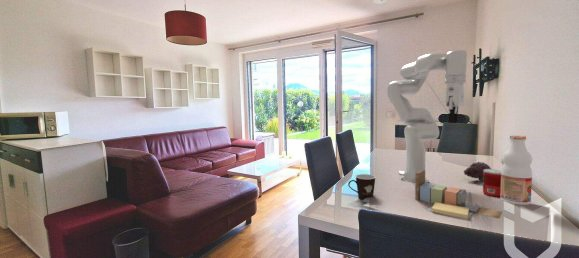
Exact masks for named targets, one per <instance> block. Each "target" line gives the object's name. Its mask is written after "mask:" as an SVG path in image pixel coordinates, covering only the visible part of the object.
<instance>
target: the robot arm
mask: <svg viewBox="0 0 579 258" xmlns="http://www.w3.org/2000/svg"><path fill="white" fill-rule="evenodd" d="M467 63H468V52H467V50H464V49H455V50H450V51H448V52H447V53H445V52H443V53H441V52H434V53H432V52H431V53H427V54H424V55H422V56H419V57H417V58H416V60H415V61H414V62H411V63H408V64H405V65H404V66H402V68H401V69H400V72H399V74H400V77H401V78H402V79H405V80H393V81H391V82H390V83H389V84H388V85H387V89H386V92H387V97H388V100H389V101H390V103H391V105H392V106H393V107H394V109H395V111H396V113H397V115H398V118H399V120H400V121H401V123H402V124H403V125H406V126H405V127H404V130H403V133H404V135H403V136H404V138H405V139H404V140H405V151H406V152H405V154H406V155H405V171H401V170H399V171H398V174H399V176H403V177H402V180H403V182H407V183H412V184H415V175H416V173H417V172H419V171H421V170H425V171H426V155H427V153H426V147H425V145H424V143H423V142H424V141H433V140H436V139H439V136H440V128H439V126H438V124H437V123H436V120H435V119H434V117H433V115H432V114H431V112H430V111H429V110H428V109H427V108H425V107H414V106H413V105H412V104H411V102H410V100H409V99H408V98H407V97H405V96H413V95H416V94H418V92H419V91H420V90H421V89H422V86H423V85H424V84H425V82H426V81H427V79H428V76H429V74H430V71H445V73H444V85H446V88H445V89H446V90H445V106H446V107H448V123H450V124H457V123H458V122H459V108H460V107H463V106H465V87H464V84H466V78H467V77H466V76H467ZM429 181H430V180H429V179H428V178H427V177H425V183H429Z"/></svg>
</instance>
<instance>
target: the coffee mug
mask: <svg viewBox="0 0 579 258" xmlns="http://www.w3.org/2000/svg"><path fill="white" fill-rule="evenodd" d="M352 182H354V183H355V184H356V189H357V190H356V189H354V188H352V187H351V183H352ZM375 183H376V176H375V175H373V174H370V173H369V174H367V173H362V174H361V173H360V174H356V175H355V180H354V179H351V180H349V181H348V185H347V186H348V188H350V189H351V190H352V191H354V192H356V193H357V197H358V199H359V200H361V201H364V200H365V199H368V198H373V197H374V193H375V192H374V191H375V186H376V185H375Z"/></svg>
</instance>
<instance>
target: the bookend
mask: <svg viewBox="0 0 579 258" xmlns="http://www.w3.org/2000/svg"><path fill="white" fill-rule="evenodd" d="M466 197H467V190H466V189H465V188H464V189H463V188H461V191H460V192H459V193H458V194H457V206H460V207H466V208H469V212H473V214H477V213H476V212H477V211H478V210H479V208H480V207H481V206H479V205H475V204H470V203H466V201H467V200H466Z"/></svg>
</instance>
